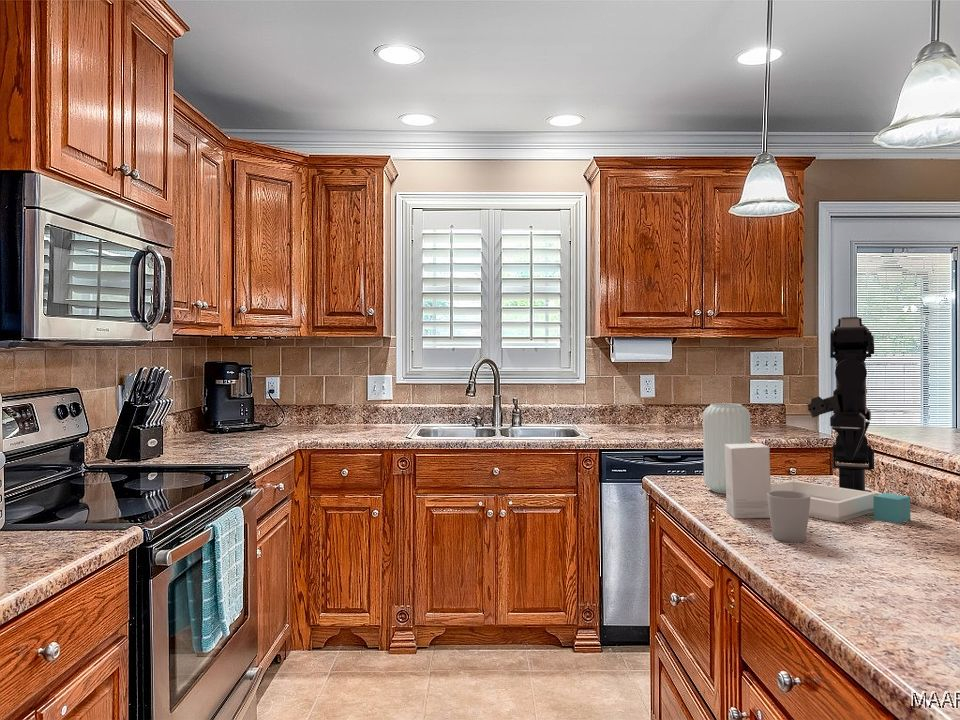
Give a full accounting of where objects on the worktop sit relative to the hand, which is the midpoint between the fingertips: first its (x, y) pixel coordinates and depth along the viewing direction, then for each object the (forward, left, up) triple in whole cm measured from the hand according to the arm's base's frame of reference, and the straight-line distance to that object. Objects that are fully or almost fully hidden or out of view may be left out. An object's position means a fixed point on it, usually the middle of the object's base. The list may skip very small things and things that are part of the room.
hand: (851, 456), depth 148 cm
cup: (+26, +1, -13) cm, 29 cm away
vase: (-2, -33, -13) cm, 35 cm away
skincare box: (+17, -14, -13) cm, 25 cm away
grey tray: (0, -9, -13) cm, 16 cm away
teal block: (-3, +7, -13) cm, 15 cm away
